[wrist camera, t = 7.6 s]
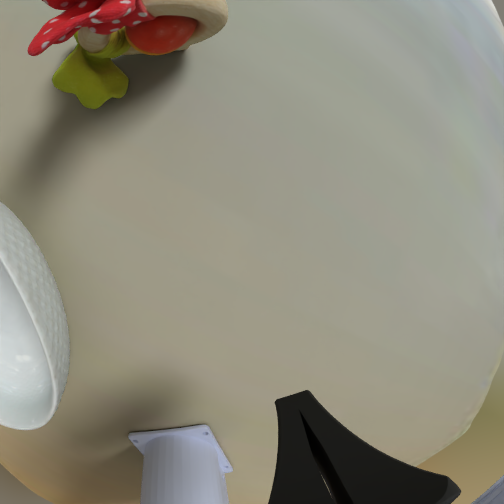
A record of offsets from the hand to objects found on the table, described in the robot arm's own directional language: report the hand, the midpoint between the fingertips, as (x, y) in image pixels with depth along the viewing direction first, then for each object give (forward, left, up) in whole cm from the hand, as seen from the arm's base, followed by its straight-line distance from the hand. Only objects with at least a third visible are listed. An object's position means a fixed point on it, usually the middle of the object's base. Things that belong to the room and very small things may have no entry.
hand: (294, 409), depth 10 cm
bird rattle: (+18, +3, -10) cm, 20 cm away
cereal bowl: (+6, +19, -10) cm, 22 cm away
